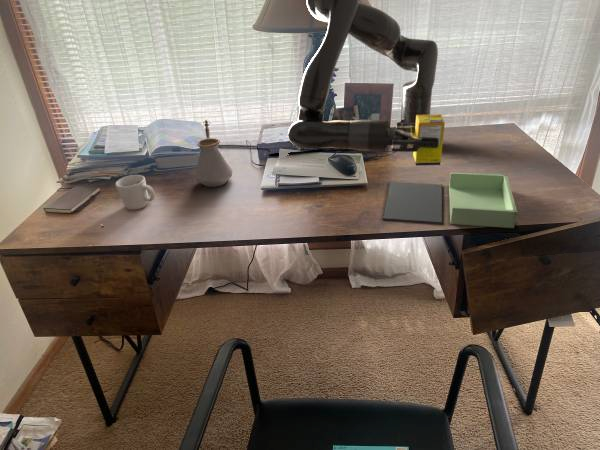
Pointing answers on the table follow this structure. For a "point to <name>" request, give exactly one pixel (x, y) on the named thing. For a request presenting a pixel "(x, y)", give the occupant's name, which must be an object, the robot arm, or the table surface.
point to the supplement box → (429, 129)
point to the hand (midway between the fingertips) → (438, 137)
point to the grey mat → (414, 203)
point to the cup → (134, 191)
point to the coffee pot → (212, 162)
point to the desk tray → (481, 200)
